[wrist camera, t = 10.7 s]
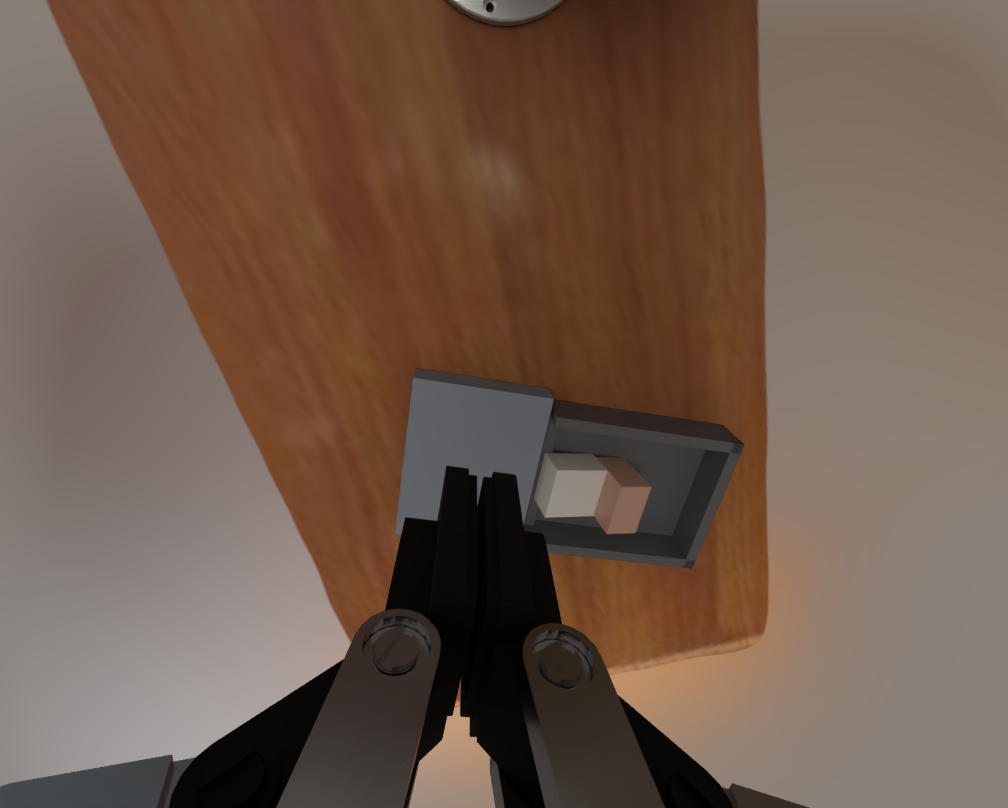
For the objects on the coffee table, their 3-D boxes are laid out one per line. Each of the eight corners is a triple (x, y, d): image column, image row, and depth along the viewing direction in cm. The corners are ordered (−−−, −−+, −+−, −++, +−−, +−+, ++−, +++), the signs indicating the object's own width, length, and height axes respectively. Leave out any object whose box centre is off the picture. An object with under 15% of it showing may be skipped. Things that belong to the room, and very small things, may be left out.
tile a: (544, 453, 44) (557, 470, 41) (592, 453, 45) (607, 470, 43) (533, 498, 46) (544, 517, 43) (579, 497, 47) (593, 516, 45)
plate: (416, 368, 41) (413, 377, 39) (549, 388, 43) (553, 398, 41) (398, 517, 47) (394, 534, 45) (516, 531, 49) (518, 547, 47)
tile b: (621, 486, 40) (651, 486, 41) (596, 456, 45) (623, 457, 46) (606, 534, 42) (635, 533, 43) (583, 500, 47) (610, 500, 48)
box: (550, 399, 43) (557, 417, 40) (722, 425, 45) (744, 444, 42) (520, 523, 49) (524, 550, 45) (676, 542, 51) (692, 568, 47)
